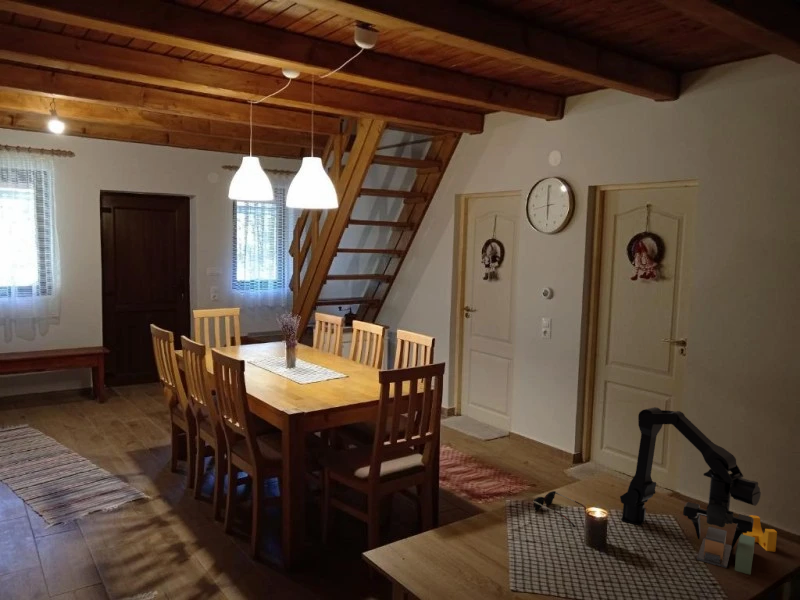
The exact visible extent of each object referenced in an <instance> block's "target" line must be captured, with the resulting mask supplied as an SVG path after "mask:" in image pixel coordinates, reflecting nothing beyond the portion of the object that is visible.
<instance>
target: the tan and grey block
mask: <svg viewBox="0 0 800 600" xmlns="http://www.w3.org/2000/svg"><path fill="white" fill-rule="evenodd" d="M727 532H728V531H727V530H724V529H720V528H716V527H714V526H713V527H712V526H708V528H707V531H706V534H705V549H704V555H705V552H709V553H713V554H717V555H720V559H721V560H723V556H724V551H725V544H727Z"/></svg>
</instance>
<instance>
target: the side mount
mask: <svg viewBox="0 0 800 600" xmlns="http://www.w3.org/2000/svg"><path fill="white" fill-rule="evenodd" d="M705 538H706V537H705ZM705 538H702V542H701V545H700V547H699V548H700V549H699V551H698V554H697V556H696V561H700V562H704V563H707V564H709V565H715V566H718V567H722V568H725V569H727V568H728V565H729V561H730V557H731V552H732V549H733V548H732V544H729V543H728V544H727V543H726V544H725V551H724V556H723V560H721V559H720V555H717V554H713V553H709V552H705V555H704V549H705Z"/></svg>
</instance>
